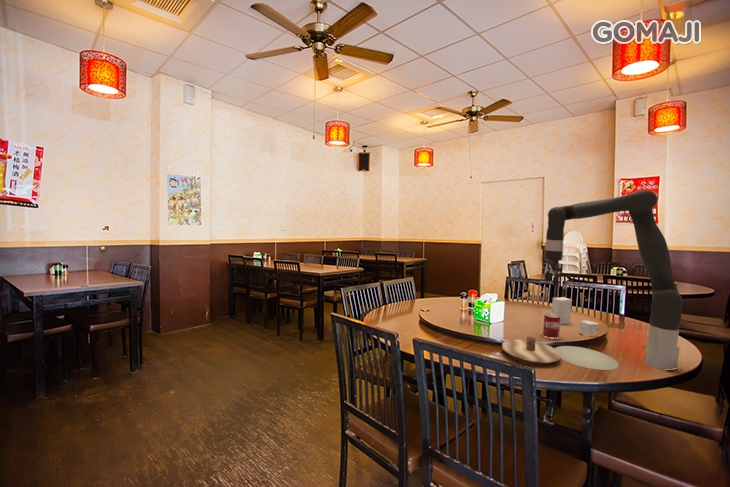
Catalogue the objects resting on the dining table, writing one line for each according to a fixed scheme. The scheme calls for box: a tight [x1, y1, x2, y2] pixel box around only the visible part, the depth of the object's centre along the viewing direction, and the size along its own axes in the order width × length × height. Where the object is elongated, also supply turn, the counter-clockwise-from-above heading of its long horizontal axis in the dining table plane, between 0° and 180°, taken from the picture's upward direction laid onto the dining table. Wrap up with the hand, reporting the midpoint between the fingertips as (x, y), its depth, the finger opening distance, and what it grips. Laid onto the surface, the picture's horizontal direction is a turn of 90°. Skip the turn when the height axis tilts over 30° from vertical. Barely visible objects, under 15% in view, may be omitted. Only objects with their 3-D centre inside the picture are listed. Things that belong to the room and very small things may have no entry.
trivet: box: [554, 345, 619, 371], centre depth 147 cm, size 24×24×1 cm
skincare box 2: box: [578, 319, 600, 334], centre depth 175 cm, size 6×6×7 cm
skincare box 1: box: [551, 296, 573, 326], centre depth 194 cm, size 8×6×15 cm
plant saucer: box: [507, 353, 553, 366], centre depth 147 cm, size 21×21×3 cm
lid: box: [501, 336, 561, 364], centre depth 146 cm, size 23×23×6 cm
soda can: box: [542, 312, 561, 338], centre depth 170 cm, size 7×7×12 cm
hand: (551, 283), depth 159 cm, fingers open, 8 cm apart
